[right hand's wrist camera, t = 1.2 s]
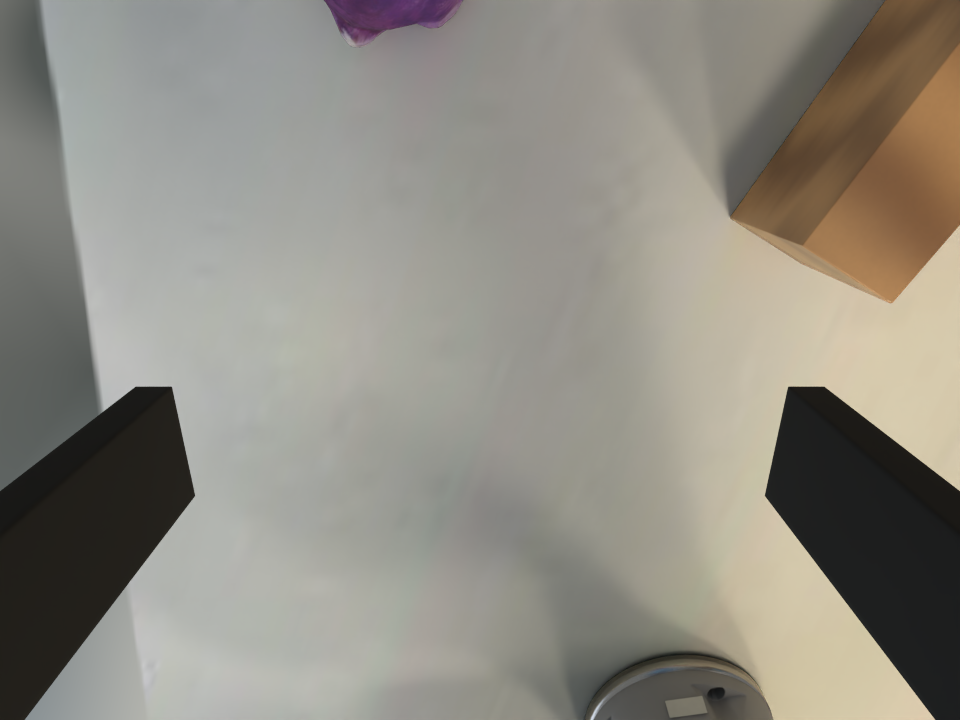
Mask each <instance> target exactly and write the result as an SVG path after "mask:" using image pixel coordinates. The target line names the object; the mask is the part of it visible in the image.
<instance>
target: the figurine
mask: <svg viewBox="0 0 960 720" xmlns="http://www.w3.org/2000/svg"><path fill="white" fill-rule="evenodd" d="M324 1H325V2H326V3H327V5H328V7H329V8H330V10H331V12H332V14H333V16H334V19H335V21H336V23H337V26H338V28H339V31H340V33H341V35H342V37H343V38H344V39H345V41H346V42H347V43H348V44H349V45H350V46H352V47H363V46H367V45H368V44H370V43H371V42H372V41H373V40H374V39H375V38H376V37H377V36H378V35H380V34H381V33H382V32H384V31H385V30H388V29H394V28H399V27H403V26H407V25H412V24H416V23H417V24H419V25H422V26H425V27H427V28H439V27H440V26H442V25H443V24H444V23H446V22H447V21H448V20H449V19H450V18H451V17H452V16H453V15H454V14H455V13H456V12H457V10H458V8H459V7H460V5H461V3H462V1H463V0H324Z"/></svg>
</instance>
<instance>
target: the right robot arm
mask: <svg viewBox="0 0 960 720" xmlns="http://www.w3.org/2000/svg"><path fill="white" fill-rule="evenodd" d="M194 497H195V493H194V488H193V484H192V479H191V474H190V470H189V465H188V460H187V456H186V451H185V446H184V442H183V437H182V432H181V428H180V423H179V418H178V414H177V409H176V404H175V400H174V395H173V390H172V387H135V388H134V389H132V390H131V391H130V392H128V393H127V394H126V395H124V396H123V397H122V398H121V399H119V400H118V401H117V402H115V403H114V404H113V405H112V406H110V407H109V408H108V409H106V410H105V411H104V412H102V413H101V414H100V415H99V416H97V417H96V418H95V419H93V420H92V421H91V422H89V423H88V424H87V425H86V426H84V427H83V428H82V429H80V430H79V431H78V432H76V433H75V434H74V435H73V436H71V437H70V438H69V439H67V440H66V441H65V442H63V443H62V444H61V445H60V446H58V447H57V448H56V449H55V450H53V451H52V452H51V453H49V454H48V455H47V456H45V457H44V458H43V459H41V460H40V461H39V462H38V463H36V464H35V465H34V466H32V467H31V468H30V469H28V470H27V471H26V472H25V473H23V474H22V475H21V476H19V477H18V478H17V479H16V480H14V481H13V482H12V483H10V484H9V485H8V486H6V487H5V488H4V489H3V490H1V491H0V720H25V718H26V717H27V716H28V715H29V713H30V712H31V711H32V709H33V708H34V707H35V705H36V704H37V703H38V701H39V700H40V699H41V698H42V696H43V695H44V694H45V692H46V691H47V690H48V688H49V687H50V686H51V684H52V683H53V682H54V680H55V679H56V678H57V676H58V675H59V674H60V673H61V671H62V670H63V669H64V667H65V666H66V665H67V663H68V662H69V661H70V659H71V658H72V657H73V655H74V654H75V653H76V652H77V650H78V649H79V648H80V646H81V645H82V644H83V642H84V641H85V640H86V638H87V637H88V636H89V634H90V633H91V632H92V630H93V629H94V628H95V627H96V625H97V624H98V623H99V621H100V620H101V619H102V617H103V616H104V615H105V613H106V612H107V611H108V609H109V608H110V607H111V606H112V604H113V603H114V602H115V600H116V599H117V598H118V596H119V595H120V594H121V592H122V591H123V590H124V588H125V587H126V586H127V585H128V583H129V582H130V581H131V579H132V578H133V577H134V575H135V574H136V573H137V571H138V570H139V569H140V567H141V566H142V565H143V564H144V562H145V561H146V560H147V558H148V557H149V556H150V554H151V553H152V552H153V550H154V549H155V548H156V546H157V545H158V544H159V543H160V541H161V540H162V539H163V537H164V536H165V535H166V533H167V532H168V531H169V529H170V528H171V527H172V525H173V524H174V523H175V521H176V520H177V519H178V518H179V516H180V515H181V514H182V512H183V511H184V510H185V508H186V507H187V506H188V504H189V503H190V502H191V500H192V499H193V498H194ZM765 497H766V498H767V499H768V500H769V502H770V503H771V504H772V506H773V507H774V508H775V510H776V511H777V512H778V514H779V515H780V516H781V518H782V519H783V520H784V521H785V523H786V524H787V525H788V527H789V528H790V529H791V531H792V532H793V533H794V535H795V536H796V537H797V539H798V540H799V541H800V543H801V544H802V545H803V546H804V548H805V549H806V550H807V552H808V553H809V554H810V556H811V557H812V558H813V560H814V561H815V562H816V564H817V565H818V566H819V567H820V569H821V570H822V571H823V573H824V574H825V575H826V577H827V578H828V579H829V581H830V582H831V583H832V585H833V586H834V587H835V588H836V590H837V591H838V592H839V594H840V595H841V596H842V598H843V599H844V600H845V602H846V603H847V604H848V606H849V607H850V608H851V610H852V611H853V612H854V613H855V615H856V616H857V617H858V619H859V620H860V621H861V623H862V624H863V625H864V627H865V628H866V629H867V631H868V632H869V633H870V634H871V636H872V637H873V638H874V640H875V641H876V642H877V644H878V645H879V646H880V648H881V649H882V650H883V652H884V653H885V654H886V655H887V657H888V658H889V659H890V661H891V662H892V663H893V665H894V666H895V667H896V669H897V670H898V671H899V673H900V674H901V675H902V676H903V678H904V679H905V680H906V682H907V683H908V684H909V686H910V687H911V688H912V690H913V691H914V692H915V694H916V695H917V696H918V698H919V699H920V700H921V701H922V703H923V704H924V705H925V707H926V708H927V709H928V711H929V712H930V713H931V715H932V716H933V717H934V719H935V720H960V491H959V490H957V489H956V488H955V487H954V486H952V485H951V484H950V483H948V482H947V481H946V480H945V479H943V478H942V477H941V476H939V475H938V474H937V473H935V472H934V471H933V470H932V469H930V468H929V467H928V466H926V465H925V464H924V463H922V462H921V461H920V460H919V459H917V458H916V457H915V456H913V455H912V454H911V453H909V452H908V451H907V450H906V449H904V448H903V447H902V446H900V445H899V444H898V443H897V442H895V441H894V440H893V439H891V438H890V437H889V436H887V435H886V434H885V433H884V432H882V431H881V430H880V429H878V428H877V427H876V426H874V425H873V424H872V423H871V422H869V421H868V420H867V419H865V418H864V417H863V416H861V415H860V414H859V413H858V412H856V411H855V410H854V409H852V408H851V407H850V406H848V405H847V404H846V403H845V402H843V401H842V400H841V399H839V398H838V397H837V396H836V395H834V394H833V393H832V392H830V391H829V390H828V389H826V388H825V387H788V390H787V395H786V400H785V404H784V409H783V414H782V418H781V423H780V428H779V432H778V437H777V442H776V446H775V451H774V456H773V460H772V465H771V470H770V474H769V479H768V484H767V488H766V493H765ZM585 720H773V717H772V714H771V710H770V708H769V706H768V704H767V702H766V700H765V698H764V696H763V694H762V692H761V690H760V688H759V686H758V685H757V683H756V682H755V681H754V680H753V679H752V678H751V677H750V676H749V675H748V674H747V673H745V672H744V671H743V670H741V669H740V668H738V667H736V666H734V665H732V664H730V663H728V662H725V661H722V660H719V659H716V658H711V657H706V656H698V655H673V656H666V657H660V658H655V659H652V660H648V661H645V662H642V663H639V664H637V665H634V666H632V667H630V668H628V669H626V670H624V671H622V672H621V673H619V674H618V675H616V676H615V677H613V678H612V679H611V680H609V681H608V682H607V683H606V684H605V685H604V686H603V687H602V688H601V689H600V690H599V691H598V692H597V693H596V695H595V696H594V698H593V699H592V701H591V703H590V705H589V707H588V709H587V712H586V716H585Z"/></svg>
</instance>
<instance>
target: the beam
mask: <svg viewBox="0 0 960 720" xmlns="http://www.w3.org/2000/svg"><path fill="white" fill-rule="evenodd" d="M730 218H731V219H732V220H734V221H735V222H737V223H738V224H740V225H742V226H743V227H745V228H746V229H748V230H749V231H751V232H753V233H754V234H756V235H757V236H759V237H760V238H762V239H764V240H765V241H767V242H768V243H770V244H771V245H773V246H774V247H776V248H778V249H779V250H781V251H782V252H784V253H785V254H787V255H789V256H790V257H792V258H793V259H795V260H796V261H798V262H800V263H801V264H803V265H805V266H808V267H810V268H812V269H814V270H817V271H819V272H821V273H823V274H826V275H828V276H830V277H832V278H835V279H837V280H839V281H841V282H844V283H846V284H848V285H850V286H853V287H855V288H857V289H859V290H862V291H864V292H866V293H868V294H871V295H873V296H875V297H877V298H879V299H882V300H884V301H886V302H888V303H893V302H894V300H895V299H896V298H897V297H898V296H899V295H900V293H901V292H902V291H903V290H904V289H905V288H906V287H907V285H908V284H909V283H910V282H911V281H912V280H913V278H914V277H915V276H916V275H917V274H918V273H919V271H920V270H921V269H922V268H923V267H924V266H925V265H926V263H927V262H928V261H929V260H930V259H931V258H932V256H933V255H934V254H935V253H936V252H937V251H938V249H939V248H940V247H941V246H942V245H943V244H944V243H945V241H946V240H947V239H948V238H949V237H950V236H951V234H952V233H953V232H954V231H955V230H956V229H957V227H958V226H959V225H960V0H885V2H884V3H883V5H882V6H881V7H880V9H879V10H878V12H877V13H876V14H875V16H874V17H873V19H872V20H871V21H870V23H869V24H868V26H867V27H866V28H865V30H864V31H863V32H862V34H861V35H860V37H859V38H858V39H857V41H856V42H855V44H854V45H853V46H852V48H851V49H850V51H849V52H848V53H847V55H846V56H845V58H844V59H843V60H842V62H841V63H840V65H839V66H838V67H837V69H836V70H835V72H834V73H833V74H832V76H831V77H830V79H829V80H828V81H827V83H826V84H825V86H824V87H823V88H822V90H821V91H820V92H819V94H818V95H817V97H816V98H815V99H814V101H813V102H812V104H811V105H810V106H809V108H808V109H807V111H806V112H805V113H804V115H803V116H802V118H801V119H800V120H799V122H798V123H797V125H796V126H795V127H794V129H793V130H792V132H791V133H790V134H789V136H788V137H787V139H786V140H785V141H784V143H783V144H782V146H781V147H780V148H779V150H778V151H777V152H776V154H775V155H774V157H773V158H772V159H771V161H770V162H769V164H768V165H767V166H766V168H765V169H764V171H763V172H762V173H761V175H760V176H759V178H758V179H757V180H756V182H755V183H754V185H753V186H752V187H751V189H750V190H749V192H748V193H747V194H746V196H745V197H744V199H743V200H742V201H741V203H740V204H739V206H738V207H737V208H736V210H735V211H734V212H733V214H732V215H731V217H730Z"/></svg>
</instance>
